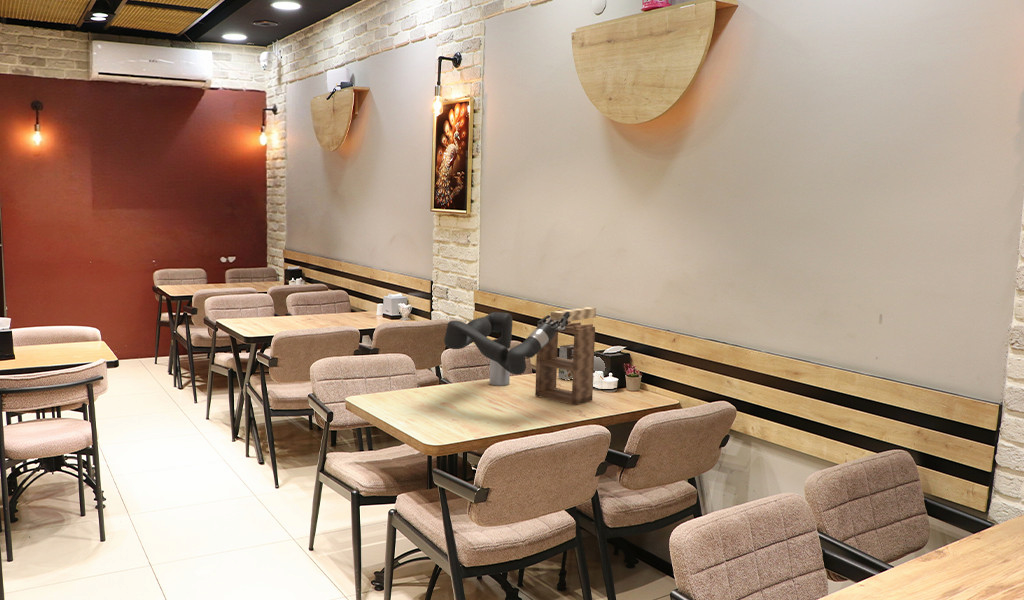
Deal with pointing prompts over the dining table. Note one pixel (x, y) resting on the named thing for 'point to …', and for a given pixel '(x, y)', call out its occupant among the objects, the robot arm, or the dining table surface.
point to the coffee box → (566, 353)
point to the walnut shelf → (568, 366)
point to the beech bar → (575, 314)
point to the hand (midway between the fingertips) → (564, 312)
